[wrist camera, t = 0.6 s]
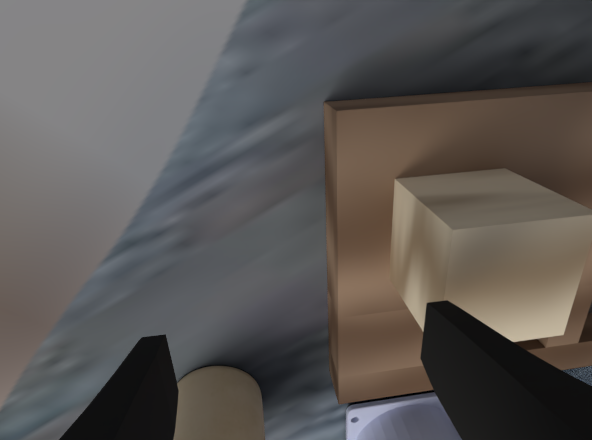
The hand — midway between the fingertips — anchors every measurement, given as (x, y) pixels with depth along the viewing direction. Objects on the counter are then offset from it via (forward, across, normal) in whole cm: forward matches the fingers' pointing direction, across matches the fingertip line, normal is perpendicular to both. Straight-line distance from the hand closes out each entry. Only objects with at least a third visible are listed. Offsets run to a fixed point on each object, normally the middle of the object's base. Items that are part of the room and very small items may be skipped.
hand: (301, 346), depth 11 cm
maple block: (+7, -8, 0) cm, 10 cm away
